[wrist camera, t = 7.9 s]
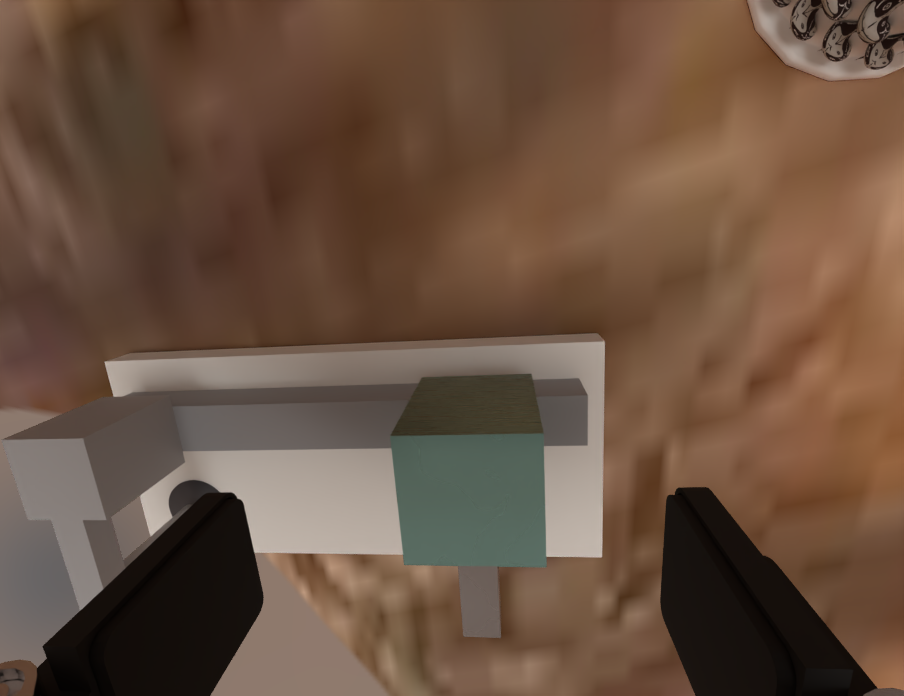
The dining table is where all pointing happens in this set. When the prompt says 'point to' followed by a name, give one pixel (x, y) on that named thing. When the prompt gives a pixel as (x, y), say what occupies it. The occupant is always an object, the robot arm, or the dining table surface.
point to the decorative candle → (834, 35)
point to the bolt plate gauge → (293, 444)
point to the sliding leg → (472, 485)
